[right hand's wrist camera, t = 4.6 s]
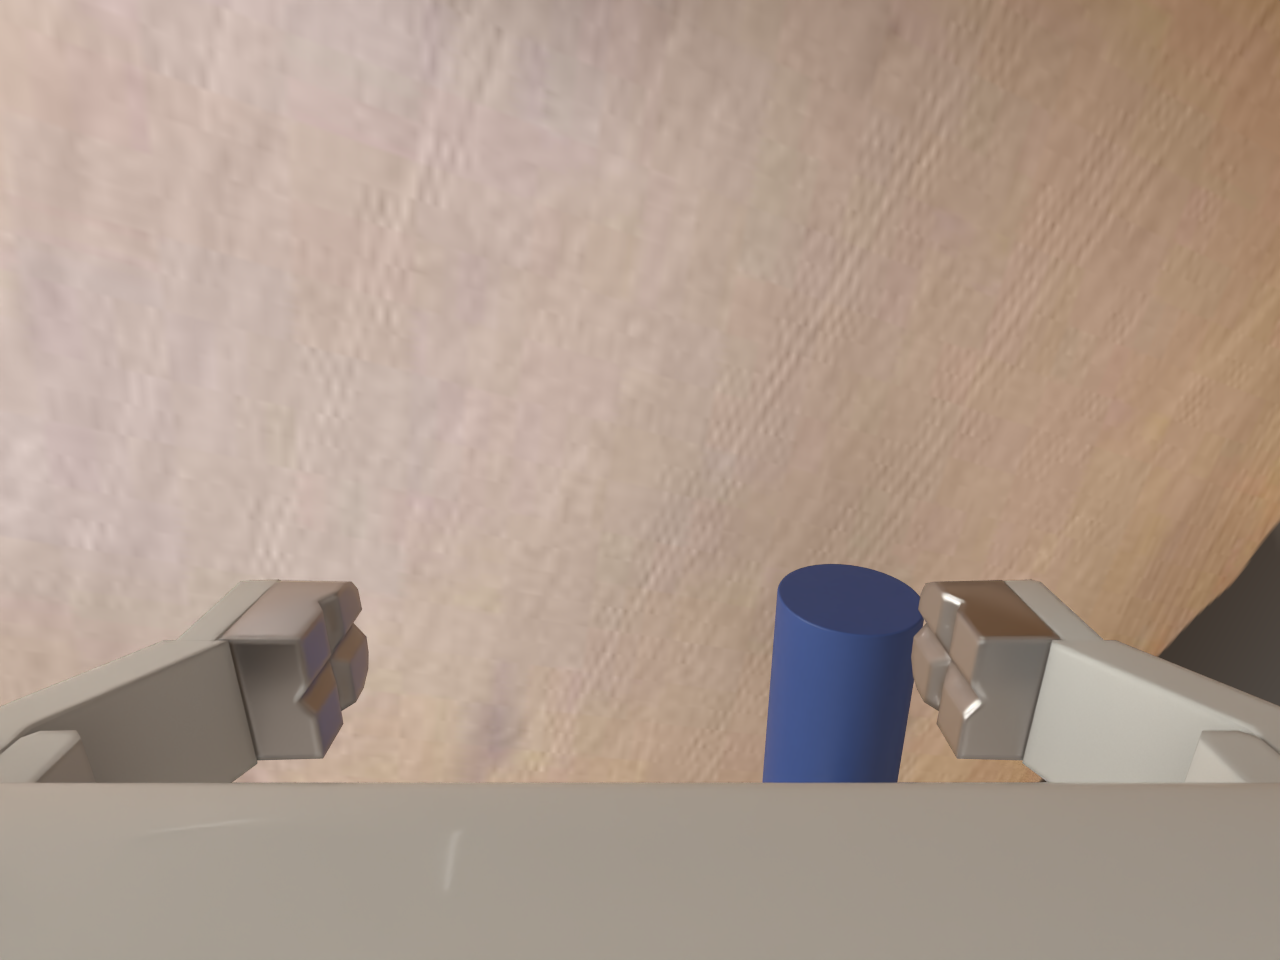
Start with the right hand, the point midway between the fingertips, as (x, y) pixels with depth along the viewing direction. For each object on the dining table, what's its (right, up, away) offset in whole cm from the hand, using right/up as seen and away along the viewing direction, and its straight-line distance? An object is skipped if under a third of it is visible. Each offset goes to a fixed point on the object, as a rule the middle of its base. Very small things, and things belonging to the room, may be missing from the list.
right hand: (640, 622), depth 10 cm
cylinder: (+9, -13, +27) cm, 32 cm away
